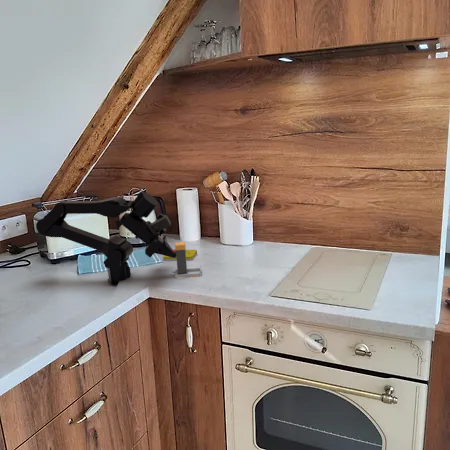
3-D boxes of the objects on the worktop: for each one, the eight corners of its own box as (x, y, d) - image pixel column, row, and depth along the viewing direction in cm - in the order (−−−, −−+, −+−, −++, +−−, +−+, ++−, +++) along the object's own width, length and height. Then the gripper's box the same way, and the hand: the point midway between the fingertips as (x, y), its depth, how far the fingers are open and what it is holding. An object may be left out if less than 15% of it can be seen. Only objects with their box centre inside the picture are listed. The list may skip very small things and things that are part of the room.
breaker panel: (171, 282, 152) (170, 273, 152) (172, 275, 159) (171, 267, 158) (202, 280, 153) (202, 271, 152) (202, 273, 160) (201, 264, 159)
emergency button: (165, 246, 180) (202, 246, 178) (166, 257, 181) (203, 257, 179) (158, 254, 171) (197, 253, 169) (159, 265, 172) (198, 265, 170)
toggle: (177, 276, 154) (175, 245, 151) (178, 273, 157) (175, 242, 155) (187, 276, 154) (184, 244, 151) (187, 272, 158) (185, 241, 155)
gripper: (151, 214, 141) (191, 246, 144) (157, 203, 159) (191, 231, 162) (128, 241, 142) (168, 272, 145) (136, 227, 160) (171, 255, 163)
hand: (175, 256), depth 154 cm, fingers closed, pressing on toggle
